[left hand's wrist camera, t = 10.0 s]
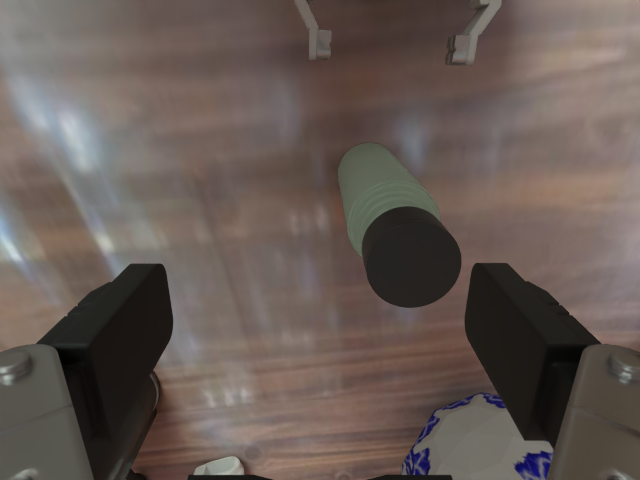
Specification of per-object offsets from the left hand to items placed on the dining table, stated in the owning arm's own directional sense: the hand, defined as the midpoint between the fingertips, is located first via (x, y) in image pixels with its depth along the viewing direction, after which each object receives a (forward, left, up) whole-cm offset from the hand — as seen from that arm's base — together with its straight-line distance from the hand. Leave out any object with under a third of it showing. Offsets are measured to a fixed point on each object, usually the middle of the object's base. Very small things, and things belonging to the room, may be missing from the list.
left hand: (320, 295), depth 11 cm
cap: (-3, -4, -8) cm, 9 cm away
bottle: (-4, -4, -27) cm, 28 cm away
